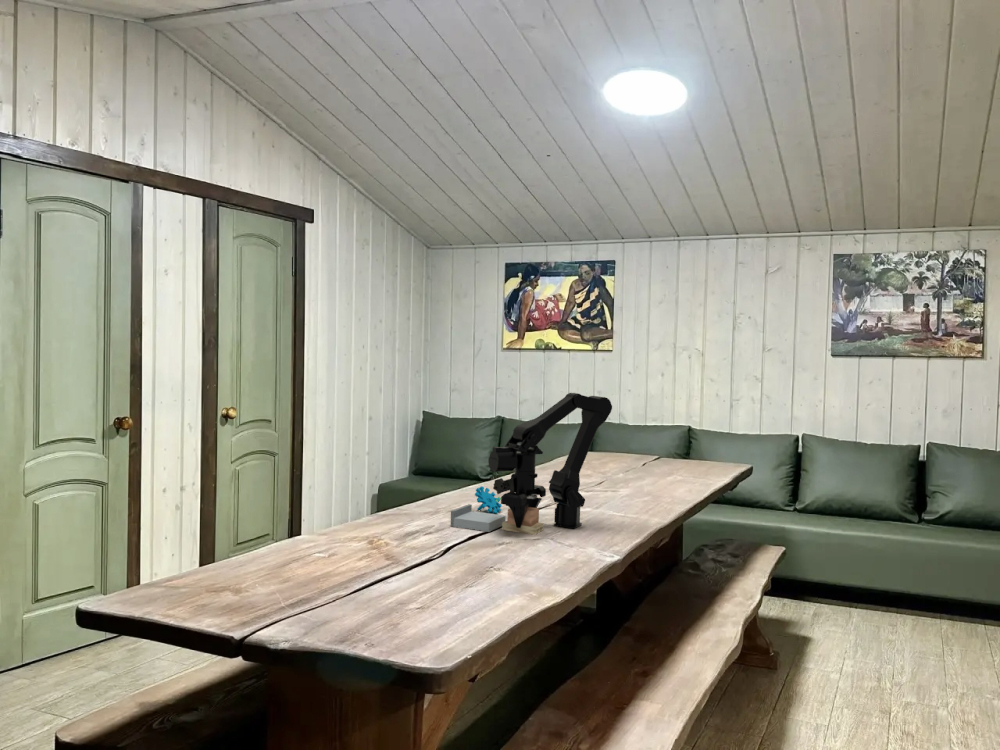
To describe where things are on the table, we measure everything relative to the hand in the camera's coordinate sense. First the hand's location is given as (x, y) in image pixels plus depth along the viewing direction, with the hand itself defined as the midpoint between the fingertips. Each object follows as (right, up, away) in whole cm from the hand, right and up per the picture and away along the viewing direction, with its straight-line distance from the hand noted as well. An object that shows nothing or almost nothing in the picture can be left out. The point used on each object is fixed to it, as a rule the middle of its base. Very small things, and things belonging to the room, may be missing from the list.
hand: (522, 525), depth 223 cm
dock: (-12, -1, +3) cm, 13 cm away
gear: (-10, 0, +22) cm, 24 cm away
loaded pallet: (0, -1, 0) cm, 1 cm away
